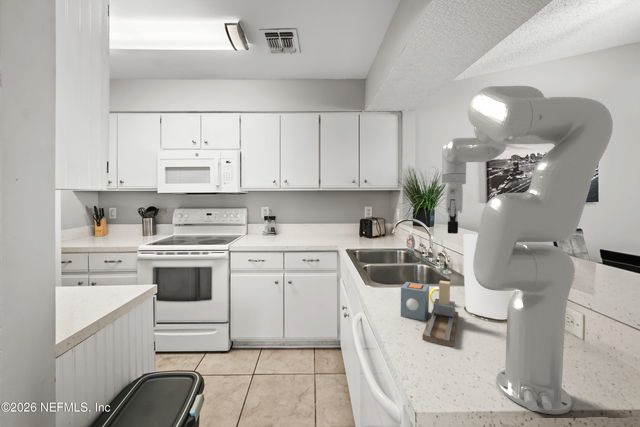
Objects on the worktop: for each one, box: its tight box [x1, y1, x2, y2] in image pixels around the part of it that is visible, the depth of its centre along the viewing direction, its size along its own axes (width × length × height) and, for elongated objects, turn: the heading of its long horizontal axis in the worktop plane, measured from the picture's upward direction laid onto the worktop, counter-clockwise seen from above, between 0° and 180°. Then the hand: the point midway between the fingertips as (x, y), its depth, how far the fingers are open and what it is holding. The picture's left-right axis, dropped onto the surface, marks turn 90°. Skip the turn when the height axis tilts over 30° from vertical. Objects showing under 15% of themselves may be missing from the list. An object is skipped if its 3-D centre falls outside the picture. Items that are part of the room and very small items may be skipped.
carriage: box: [432, 280, 456, 317], centre depth 94 cm, size 6×6×10 cm
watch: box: [429, 286, 439, 304], centre depth 110 cm, size 6×3×6 cm, turn 88°
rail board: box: [422, 307, 459, 348], centre depth 90 cm, size 23×8×3 cm, turn 150°
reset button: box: [408, 284, 422, 289], centre depth 99 cm, size 4×4×3 cm
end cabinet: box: [400, 281, 430, 321], centre depth 99 cm, size 8×8×10 cm
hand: (452, 233), depth 98 cm, fingers closed
